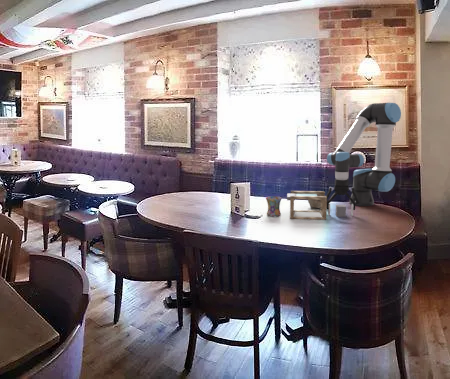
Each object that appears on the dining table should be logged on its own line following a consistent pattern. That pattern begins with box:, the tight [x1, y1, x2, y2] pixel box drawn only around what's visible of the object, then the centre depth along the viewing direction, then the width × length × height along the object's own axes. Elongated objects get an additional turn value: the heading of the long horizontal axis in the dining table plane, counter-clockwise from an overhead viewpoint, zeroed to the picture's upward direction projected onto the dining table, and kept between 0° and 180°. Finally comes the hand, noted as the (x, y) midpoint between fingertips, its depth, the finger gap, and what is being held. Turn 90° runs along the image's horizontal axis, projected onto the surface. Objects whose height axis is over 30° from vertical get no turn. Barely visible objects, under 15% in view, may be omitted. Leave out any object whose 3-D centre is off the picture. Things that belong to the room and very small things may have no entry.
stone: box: [335, 204, 347, 218], centre depth 235 cm, size 5×5×6 cm
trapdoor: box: [286, 192, 317, 201], centre depth 235 cm, size 17×14×2 cm
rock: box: [307, 194, 321, 209], centre depth 257 cm, size 14×10×8 cm
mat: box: [294, 212, 322, 217], centre depth 236 cm, size 15×13×1 cm
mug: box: [265, 195, 282, 217], centre depth 239 cm, size 12×9×11 cm
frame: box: [289, 190, 328, 221], centre depth 235 cm, size 20×18×13 cm
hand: (340, 215), depth 235 cm, fingers open, 12 cm apart
